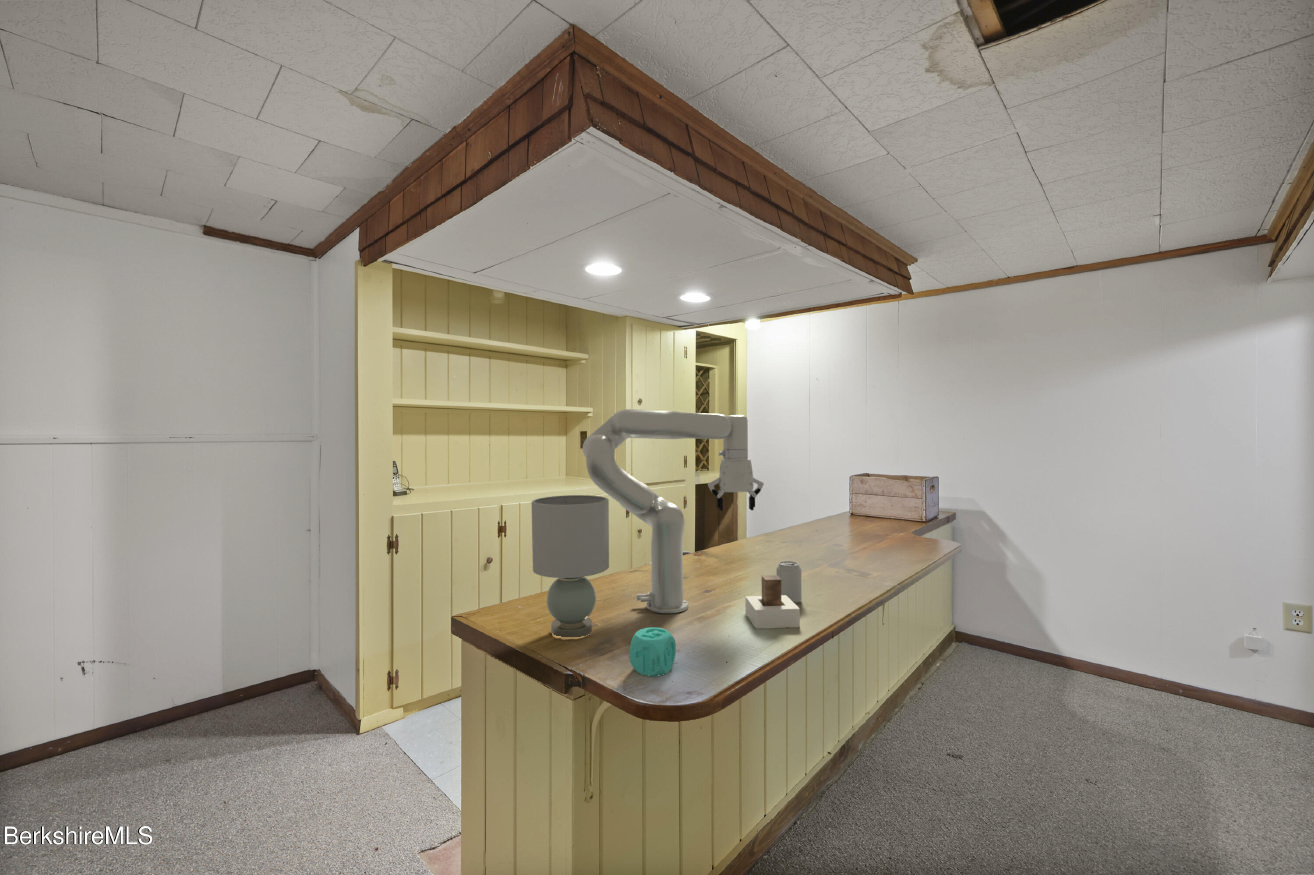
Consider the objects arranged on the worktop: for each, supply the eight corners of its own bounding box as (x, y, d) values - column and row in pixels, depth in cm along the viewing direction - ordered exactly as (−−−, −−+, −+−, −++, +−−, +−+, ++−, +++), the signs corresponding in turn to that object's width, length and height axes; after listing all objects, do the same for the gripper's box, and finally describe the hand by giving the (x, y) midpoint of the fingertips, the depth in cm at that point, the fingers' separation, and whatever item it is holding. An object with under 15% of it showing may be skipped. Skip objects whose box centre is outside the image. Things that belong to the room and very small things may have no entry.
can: (802, 605, 166) (802, 566, 166) (776, 604, 168) (776, 565, 167) (800, 598, 173) (800, 560, 173) (776, 596, 175) (776, 559, 175)
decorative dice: (629, 673, 122) (628, 637, 121) (644, 659, 129) (644, 625, 129) (662, 679, 118) (661, 642, 118) (676, 664, 126) (676, 630, 125)
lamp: (565, 654, 132) (563, 507, 131) (517, 633, 145) (516, 500, 145) (625, 631, 147) (624, 498, 146) (577, 614, 160) (575, 493, 160)
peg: (765, 623, 152) (765, 579, 151) (761, 617, 156) (761, 575, 156) (781, 622, 152) (781, 579, 152) (777, 617, 156) (776, 575, 156)
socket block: (755, 628, 147) (755, 610, 147) (745, 613, 159) (745, 596, 159) (799, 627, 148) (799, 608, 148) (786, 612, 160) (786, 595, 160)
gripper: (709, 455, 166) (710, 512, 167) (766, 455, 167) (766, 511, 168) (706, 454, 174) (706, 508, 174) (759, 454, 175) (760, 507, 175)
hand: (736, 510), depth 171 cm, fingers open, 9 cm apart
